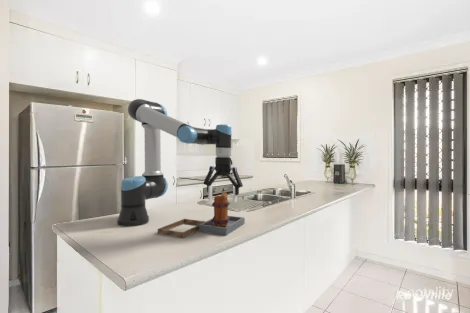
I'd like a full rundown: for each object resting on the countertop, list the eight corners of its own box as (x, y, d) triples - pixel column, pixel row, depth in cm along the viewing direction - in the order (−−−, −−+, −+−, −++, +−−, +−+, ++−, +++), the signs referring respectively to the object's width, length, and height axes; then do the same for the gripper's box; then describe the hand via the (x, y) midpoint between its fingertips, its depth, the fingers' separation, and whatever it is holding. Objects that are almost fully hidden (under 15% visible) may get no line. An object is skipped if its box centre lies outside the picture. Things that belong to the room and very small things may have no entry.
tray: (199, 231, 116) (199, 224, 115) (220, 220, 135) (220, 214, 135) (226, 235, 110) (226, 228, 110) (244, 223, 129) (244, 217, 129)
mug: (226, 229, 114) (226, 196, 114) (209, 228, 116) (209, 195, 116) (233, 221, 128) (233, 191, 128) (218, 220, 130) (218, 191, 130)
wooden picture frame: (157, 233, 112) (157, 229, 112) (184, 222, 130) (184, 218, 130) (183, 237, 106) (183, 233, 106) (207, 225, 125) (207, 221, 125)
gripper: (197, 156, 124) (196, 199, 124) (244, 157, 113) (243, 204, 114) (205, 156, 130) (204, 196, 131) (250, 157, 120) (249, 201, 121)
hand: (222, 200), depth 122 cm, fingers open, 13 cm apart
